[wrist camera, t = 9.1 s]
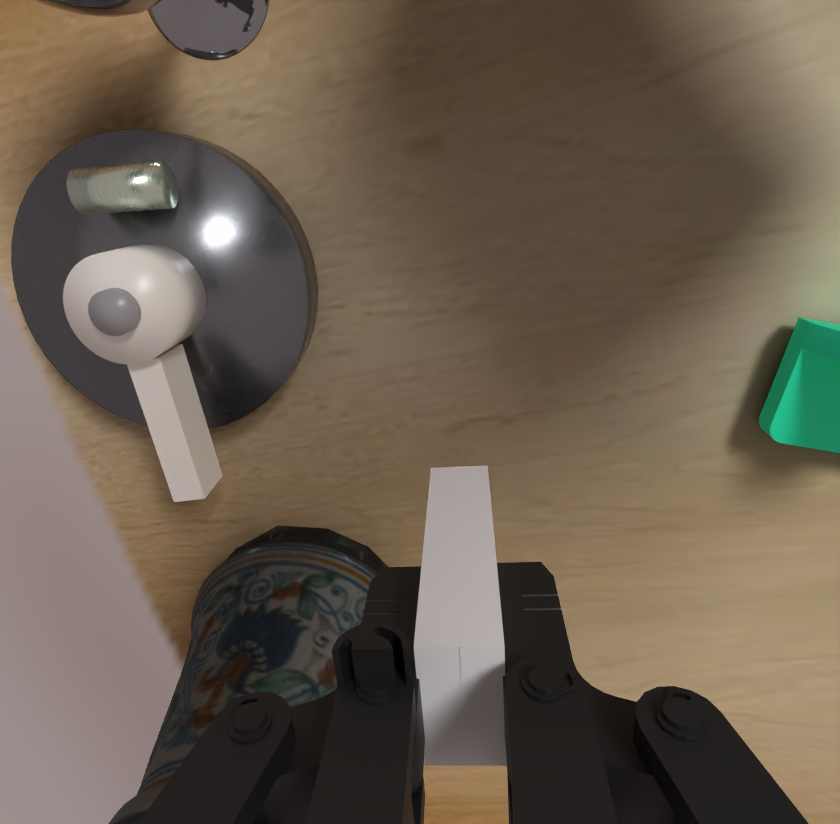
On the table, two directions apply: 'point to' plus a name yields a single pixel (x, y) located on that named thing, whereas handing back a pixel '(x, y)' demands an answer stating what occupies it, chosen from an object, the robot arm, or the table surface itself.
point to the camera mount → (807, 389)
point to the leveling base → (185, 233)
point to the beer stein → (261, 636)
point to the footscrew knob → (150, 348)
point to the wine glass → (186, 21)
